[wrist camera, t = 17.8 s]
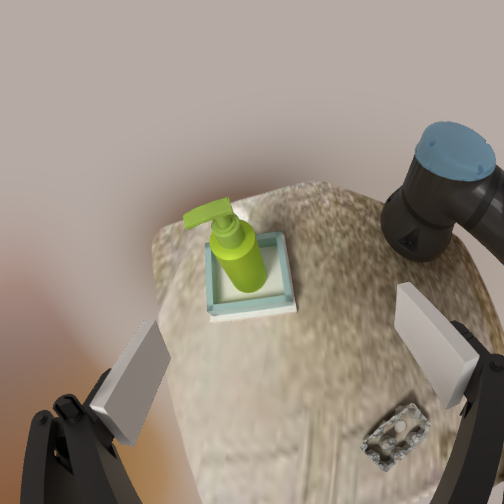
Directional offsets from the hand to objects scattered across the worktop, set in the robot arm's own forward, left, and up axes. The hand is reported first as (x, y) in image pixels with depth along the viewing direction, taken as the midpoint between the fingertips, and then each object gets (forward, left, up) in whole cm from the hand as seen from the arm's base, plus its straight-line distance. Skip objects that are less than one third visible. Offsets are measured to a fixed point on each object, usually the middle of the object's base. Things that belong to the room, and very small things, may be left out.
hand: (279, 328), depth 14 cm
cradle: (+5, -15, -30) cm, 33 cm away
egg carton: (-15, +16, -30) cm, 37 cm away
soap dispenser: (+5, -15, -29) cm, 33 cm away
